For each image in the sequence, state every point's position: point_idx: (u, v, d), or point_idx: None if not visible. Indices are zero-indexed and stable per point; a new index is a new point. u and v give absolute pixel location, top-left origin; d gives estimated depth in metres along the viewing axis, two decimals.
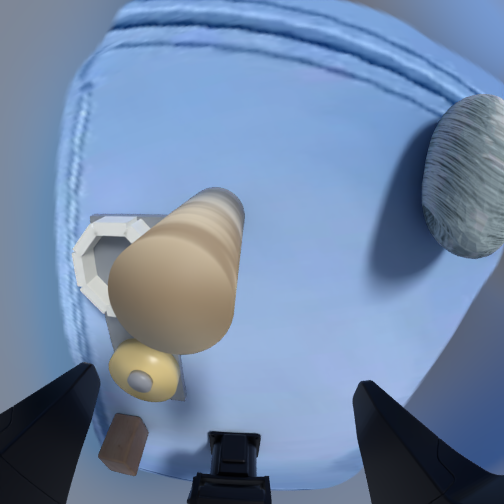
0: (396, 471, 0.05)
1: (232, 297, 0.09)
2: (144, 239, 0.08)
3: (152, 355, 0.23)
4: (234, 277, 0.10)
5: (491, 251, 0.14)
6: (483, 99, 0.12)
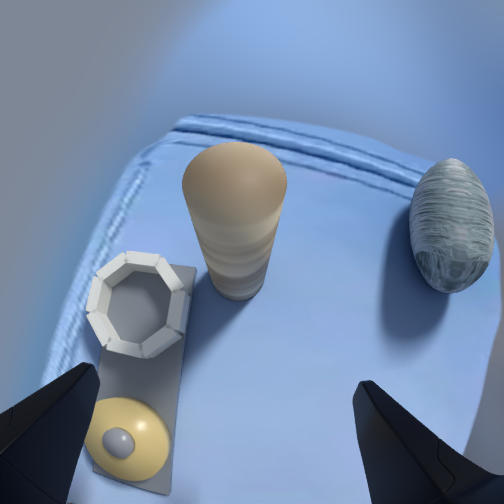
0: (396, 471, 0.05)
1: (285, 177, 0.12)
2: (227, 144, 0.12)
3: (144, 410, 0.17)
4: None
5: (482, 257, 0.17)
6: (438, 163, 0.22)
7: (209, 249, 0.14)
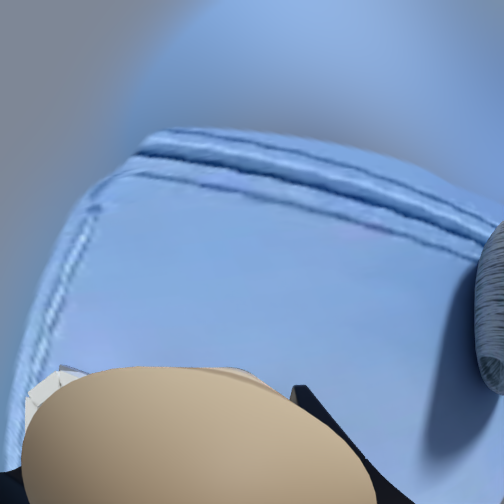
0: None
1: None
2: (135, 368, 0.03)
3: None
4: None
5: None
6: None
7: None
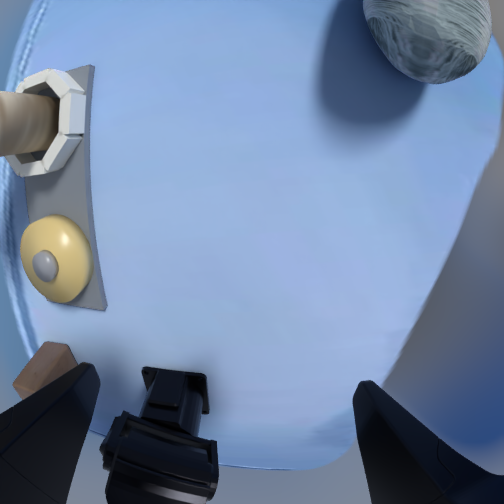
0: (396, 471, 0.05)
1: None
2: None
3: (57, 225, 0.17)
4: None
5: (463, 46, 0.08)
6: None
7: None
